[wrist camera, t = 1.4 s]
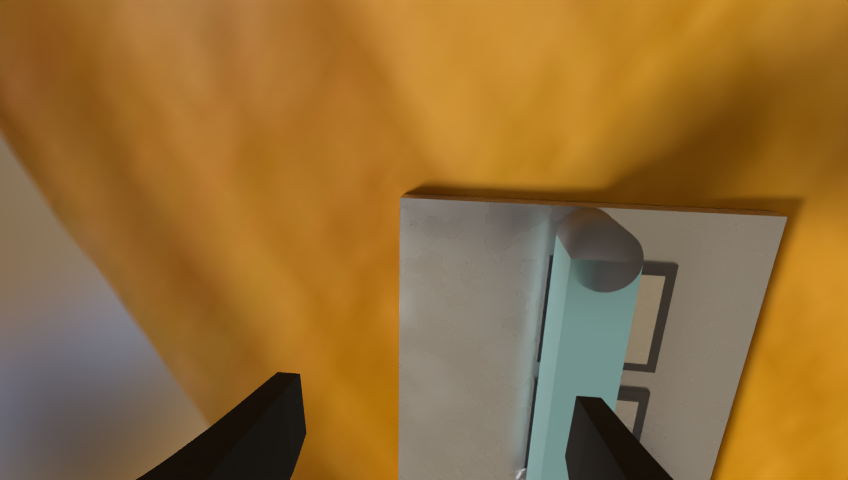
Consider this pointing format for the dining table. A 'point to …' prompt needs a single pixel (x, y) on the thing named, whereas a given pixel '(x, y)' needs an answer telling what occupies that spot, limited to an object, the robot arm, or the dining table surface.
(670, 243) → the panel
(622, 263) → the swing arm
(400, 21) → the dining table surface
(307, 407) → the dining table surface
